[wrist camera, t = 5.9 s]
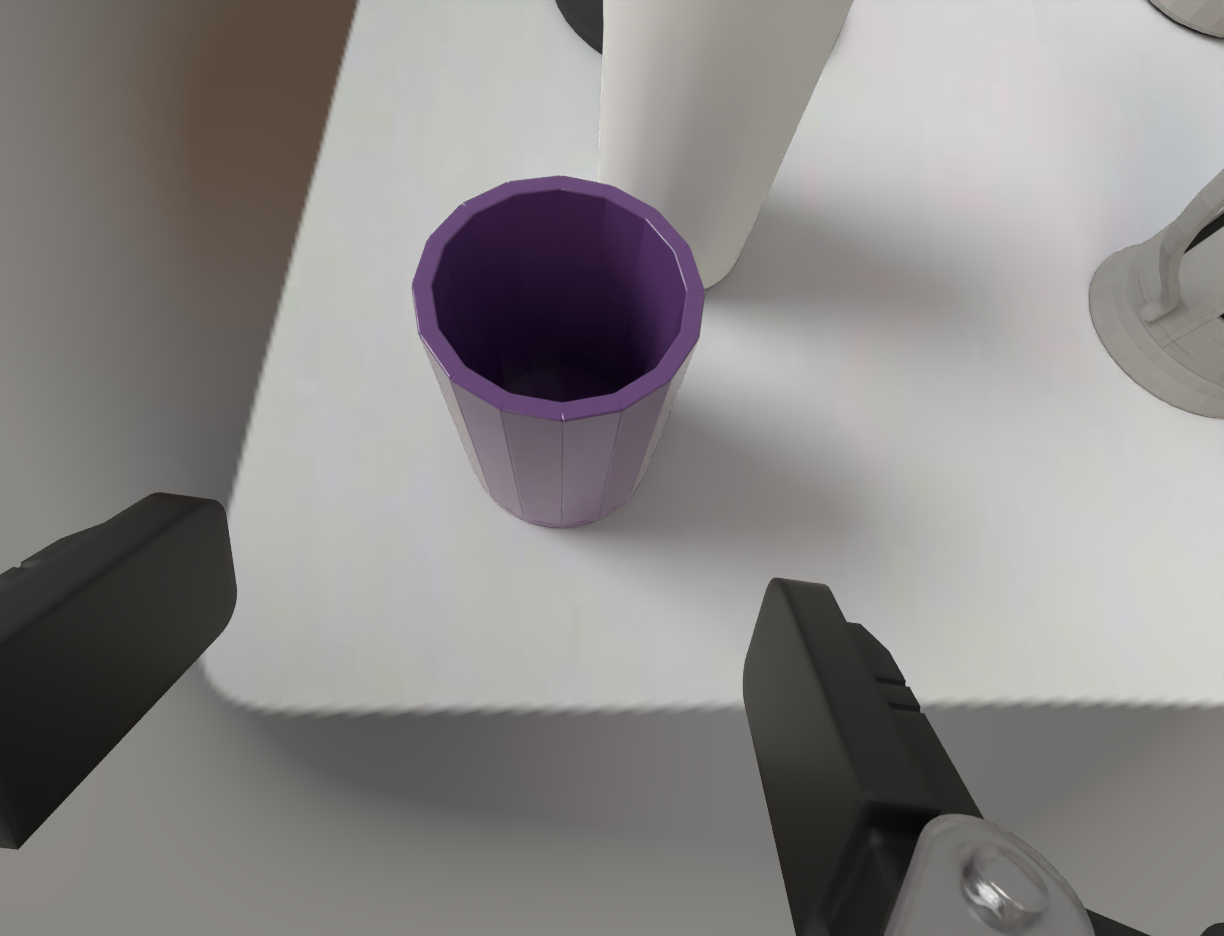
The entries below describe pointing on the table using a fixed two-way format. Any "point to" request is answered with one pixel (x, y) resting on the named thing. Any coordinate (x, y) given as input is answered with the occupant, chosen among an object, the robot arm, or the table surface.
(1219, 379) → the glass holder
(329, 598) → the table surface
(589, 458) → the cup
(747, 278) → the table surface
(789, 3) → the mug
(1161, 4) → the potted plant
